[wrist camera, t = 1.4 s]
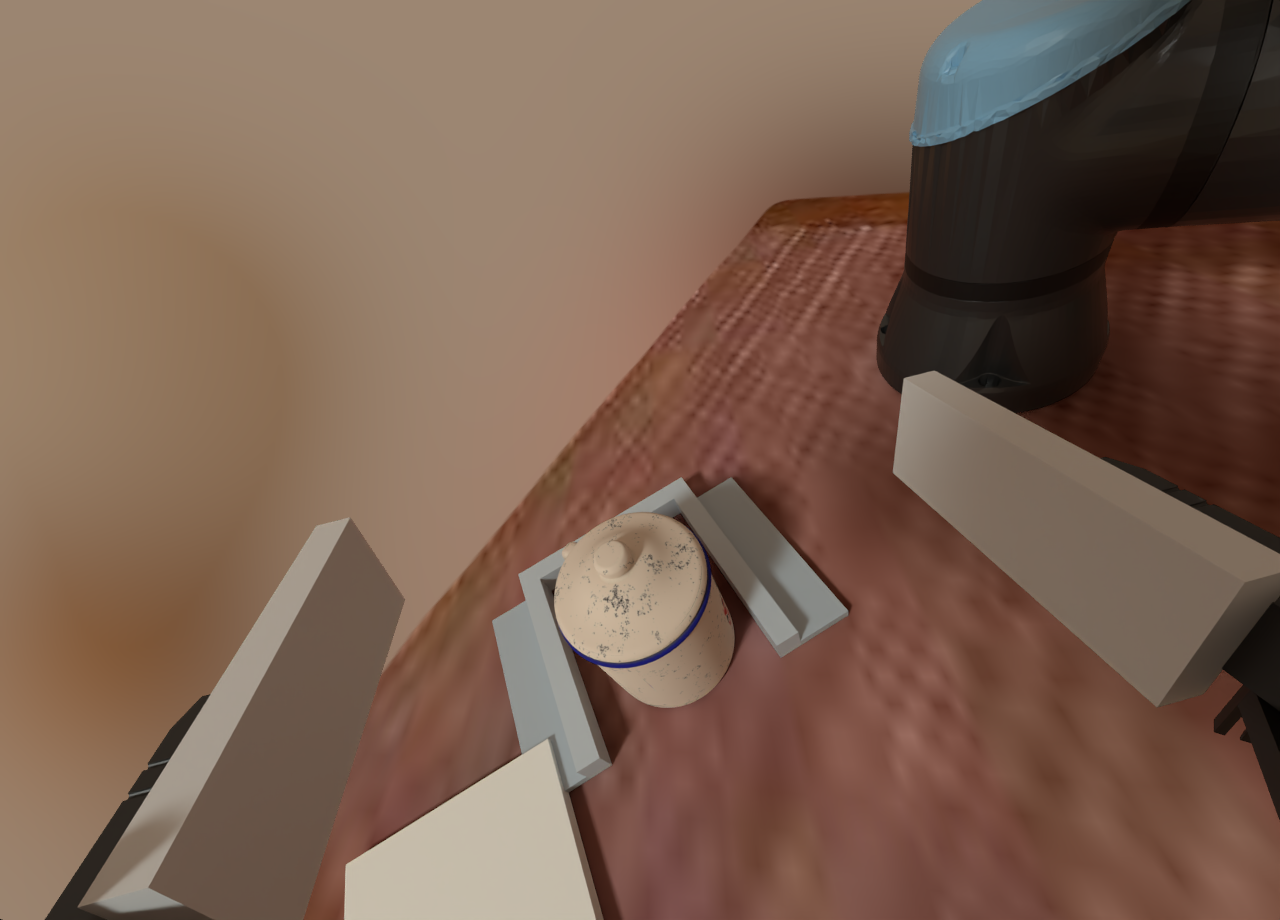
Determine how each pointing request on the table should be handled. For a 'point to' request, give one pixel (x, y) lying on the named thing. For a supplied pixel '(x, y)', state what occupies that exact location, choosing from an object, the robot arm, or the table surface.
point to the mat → (483, 855)
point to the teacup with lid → (646, 608)
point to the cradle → (746, 557)
